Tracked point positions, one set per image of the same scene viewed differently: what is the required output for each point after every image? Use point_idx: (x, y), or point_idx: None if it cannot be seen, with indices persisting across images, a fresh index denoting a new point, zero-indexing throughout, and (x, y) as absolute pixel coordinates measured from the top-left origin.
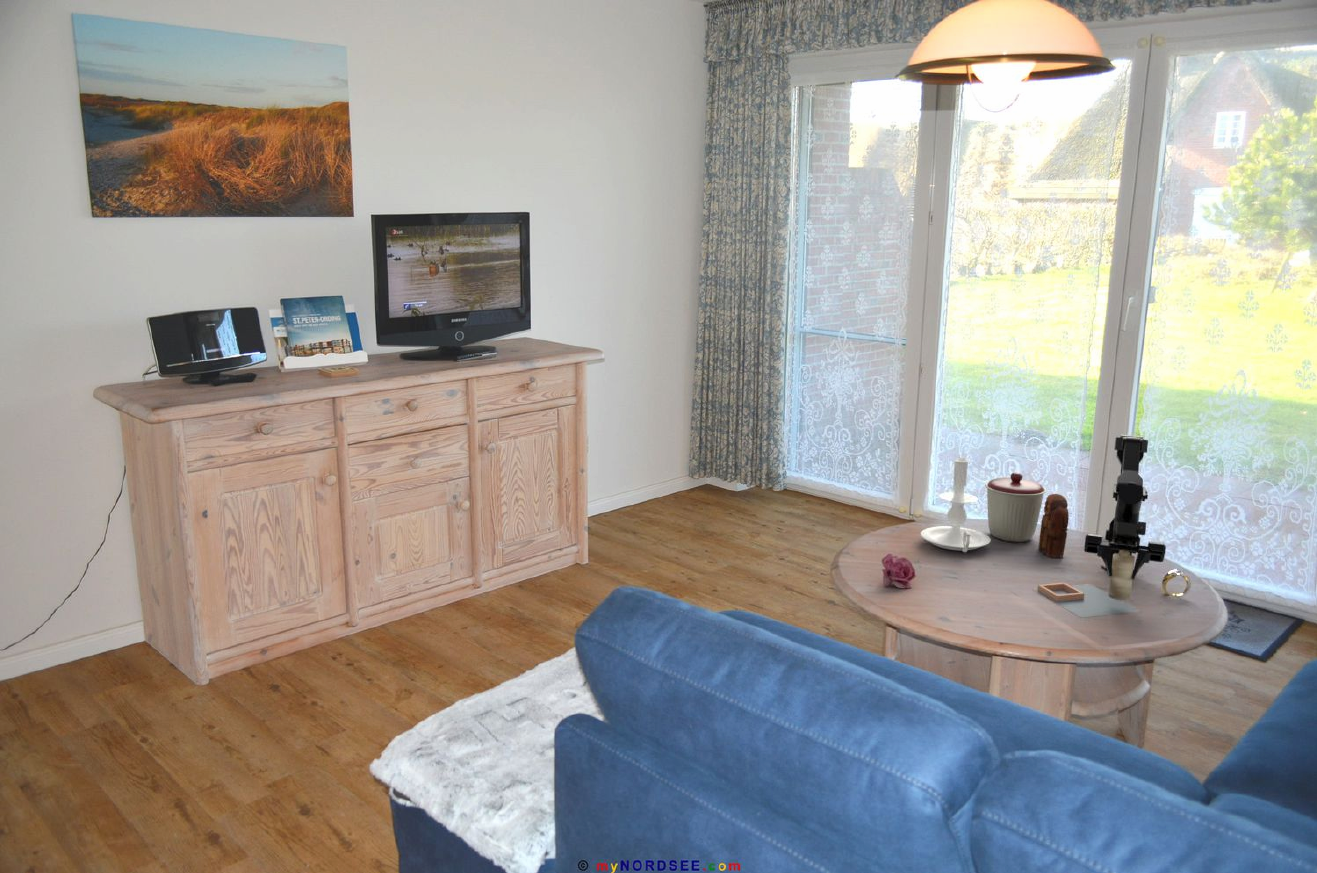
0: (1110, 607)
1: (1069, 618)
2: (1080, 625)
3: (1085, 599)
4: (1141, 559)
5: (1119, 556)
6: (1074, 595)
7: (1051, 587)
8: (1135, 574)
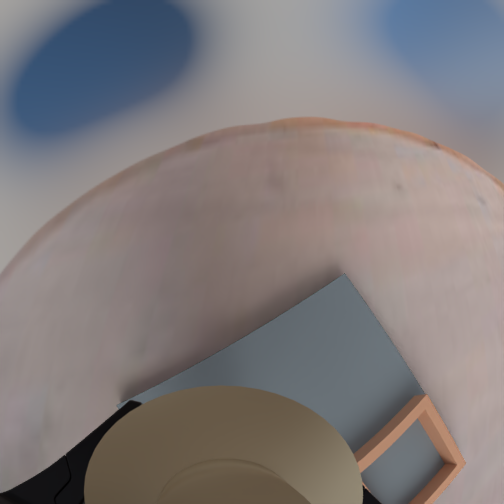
0: None
1: (369, 295)
2: (338, 249)
3: None
4: (25, 494)
5: (293, 480)
6: (375, 444)
7: (428, 491)
8: (117, 412)
